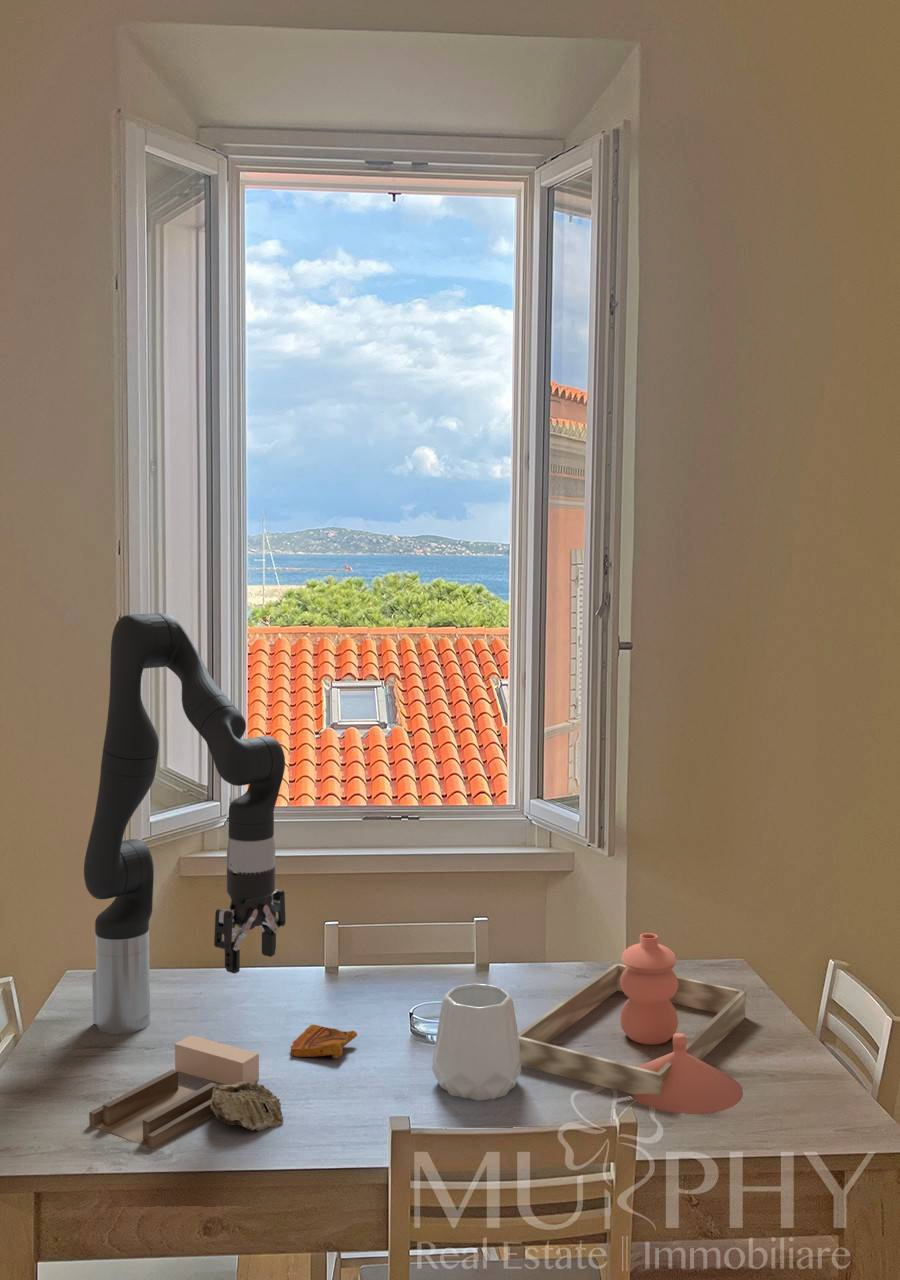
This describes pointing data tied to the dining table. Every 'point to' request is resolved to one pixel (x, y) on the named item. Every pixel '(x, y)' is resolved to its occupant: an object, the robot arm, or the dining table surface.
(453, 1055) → the vase
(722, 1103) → the ceramic vessels
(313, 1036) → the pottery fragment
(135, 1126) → the tray
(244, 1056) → the peach rectangular block
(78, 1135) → the dining table surface
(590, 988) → the vessel tray frame
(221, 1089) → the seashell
